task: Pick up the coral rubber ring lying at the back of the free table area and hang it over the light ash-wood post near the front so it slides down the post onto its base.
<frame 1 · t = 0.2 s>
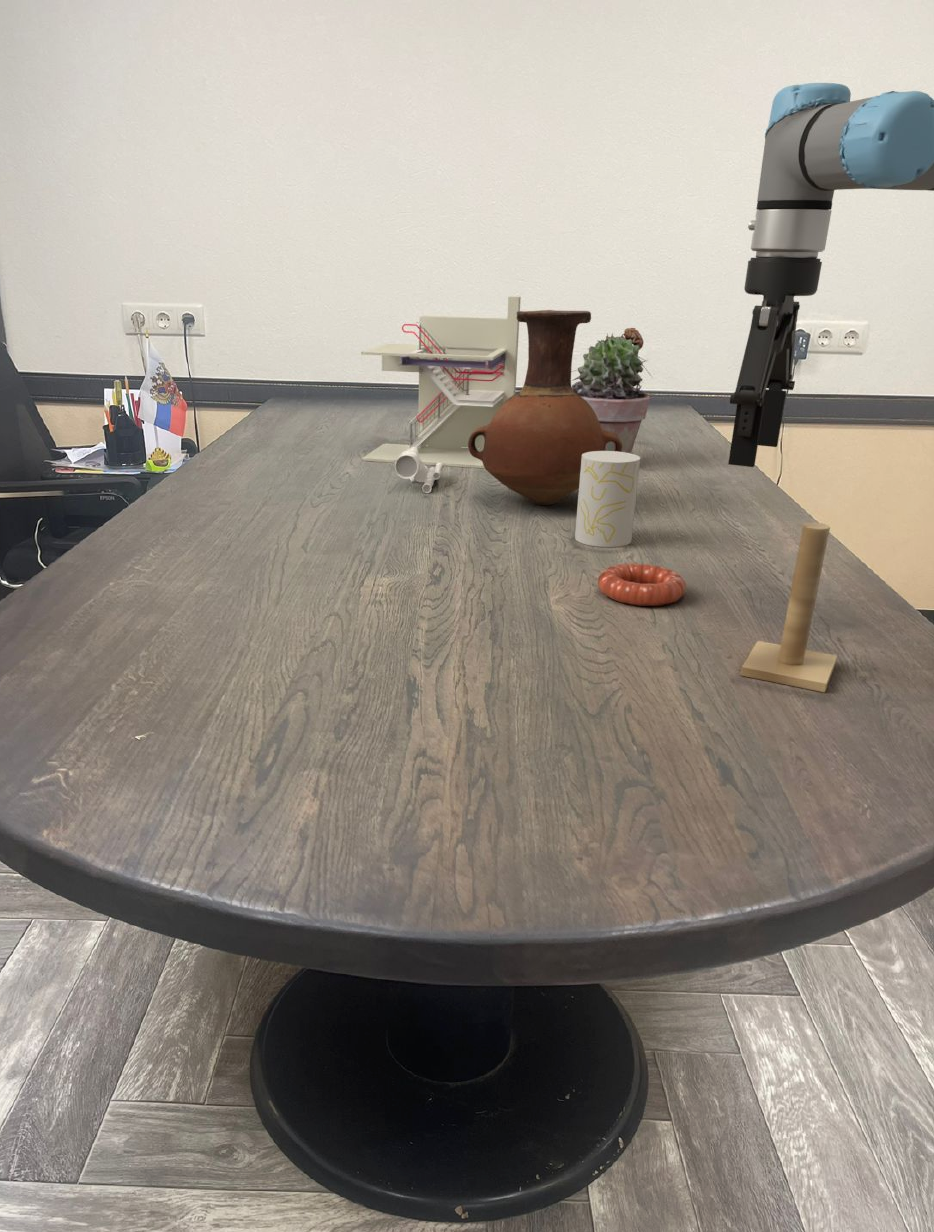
hand: (753, 455, 111), 17 cm above the table, tool pointing down, fingers open, 13 cm apart
white patterned cylinder: (602, 540, 139), on the table
white pipe fitting: (419, 485, 170), on the table
potted plant: (600, 465, 187), on the table
vase: (540, 504, 158), on the table
post: (788, 669, 96), on the table
staircase: (437, 459, 191), on the table
ring: (641, 584, 116), point 1 cm above the table
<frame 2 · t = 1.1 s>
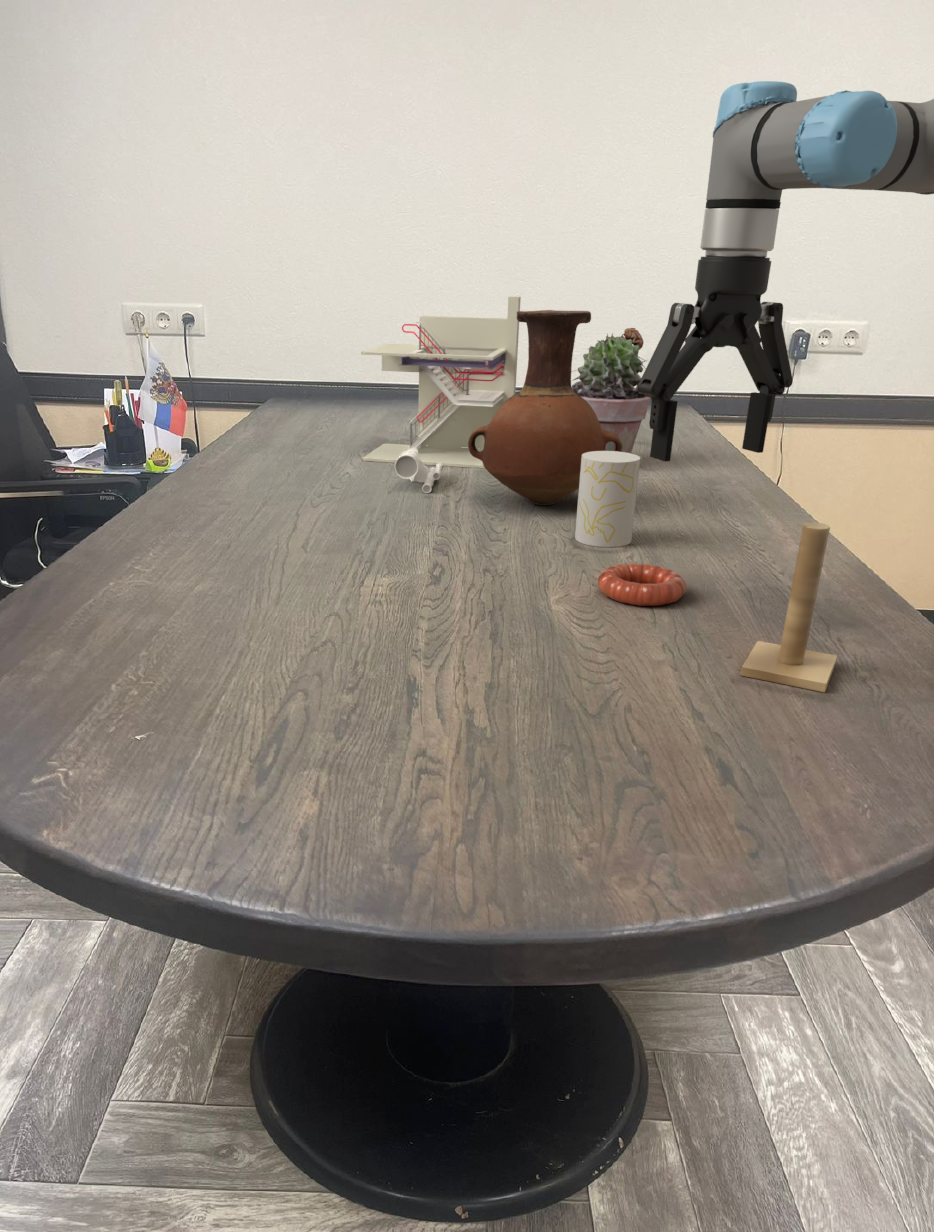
hand: (707, 455, 110), 17 cm above the table, tool pointing down, fingers open, 13 cm apart
nothing on the table moved.
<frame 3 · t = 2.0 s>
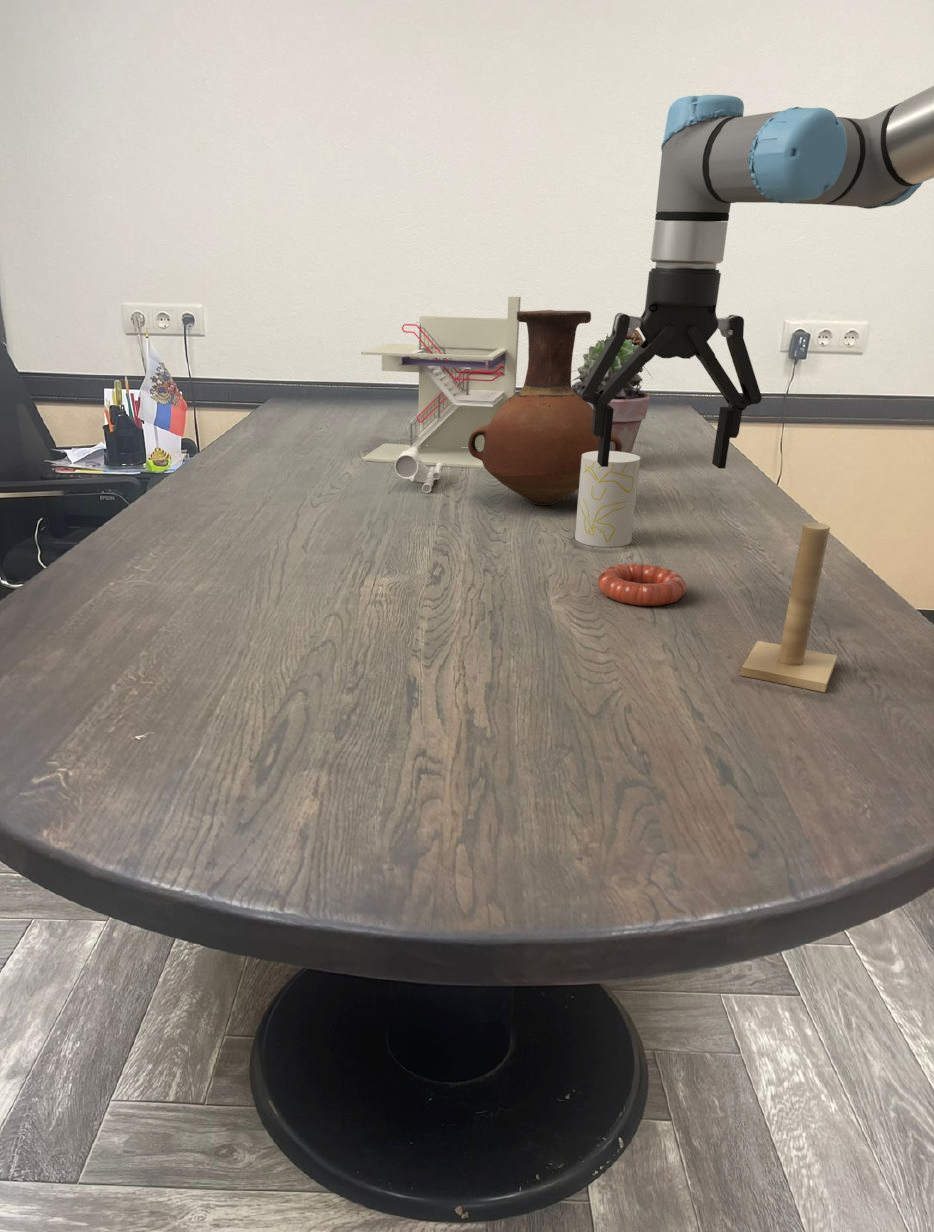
hand: (660, 465, 111), 16 cm above the table, tool pointing down, fingers open, 13 cm apart
nothing on the table moved.
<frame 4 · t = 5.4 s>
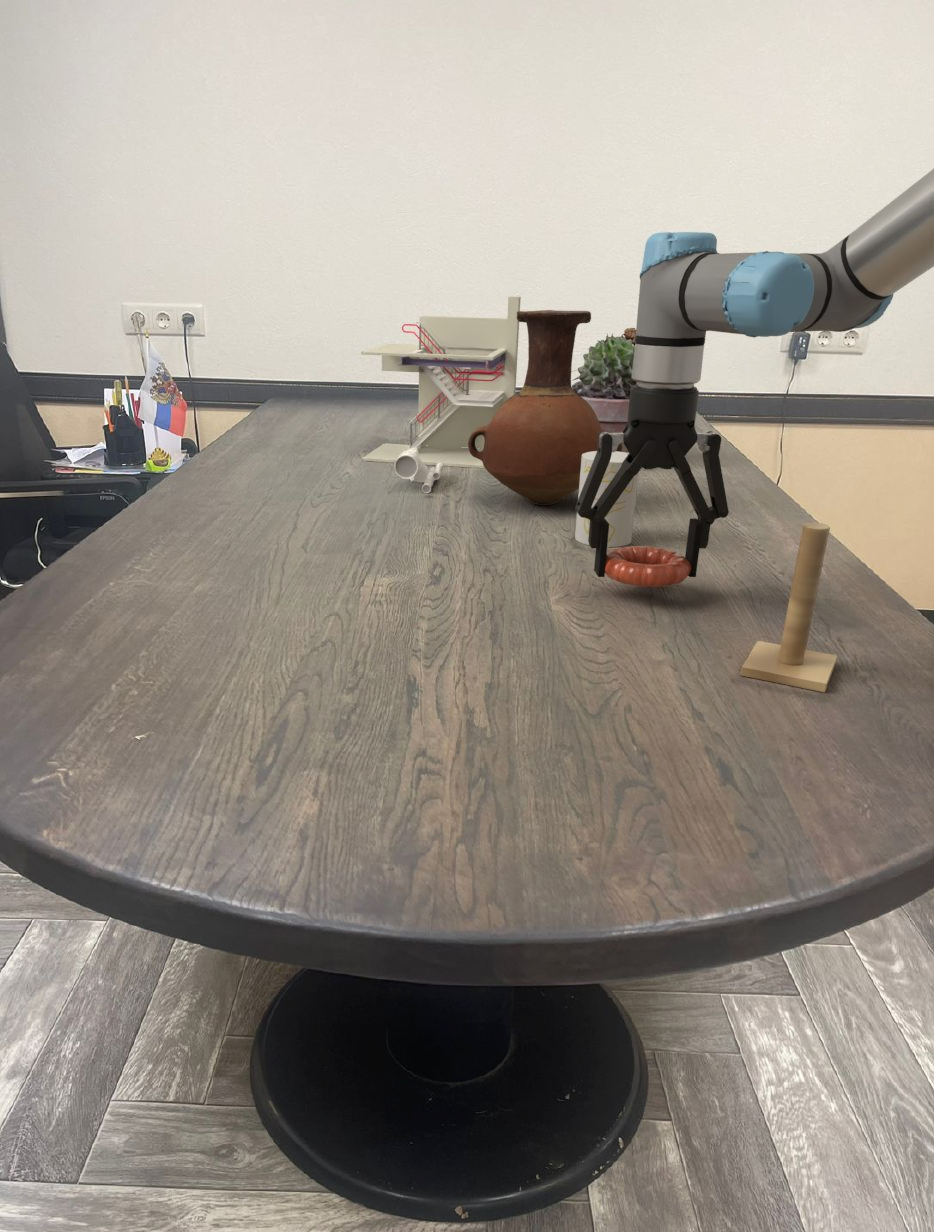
hand: (644, 573, 116), 3 cm above the table, tool pointing down, fingers closed on ring, 10 cm apart
ring: (645, 566, 115), point 4 cm above the table, touching gripper
everything else where it was.
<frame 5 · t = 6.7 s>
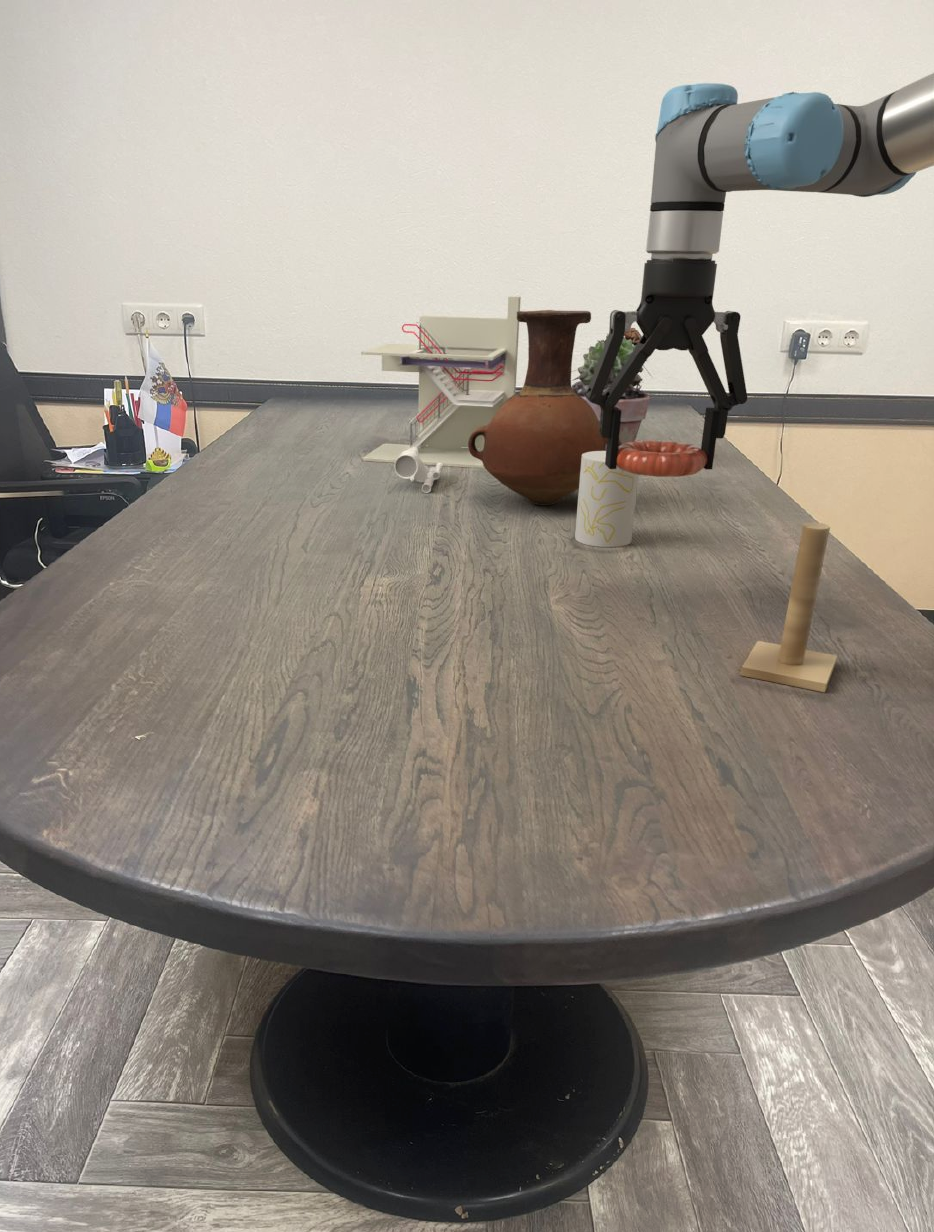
hand: (658, 466, 110), 16 cm above the table, tool pointing down, fingers closed on ring, 10 cm apart
ring: (659, 458, 109), point 17 cm above the table, touching gripper
everything else where it was.
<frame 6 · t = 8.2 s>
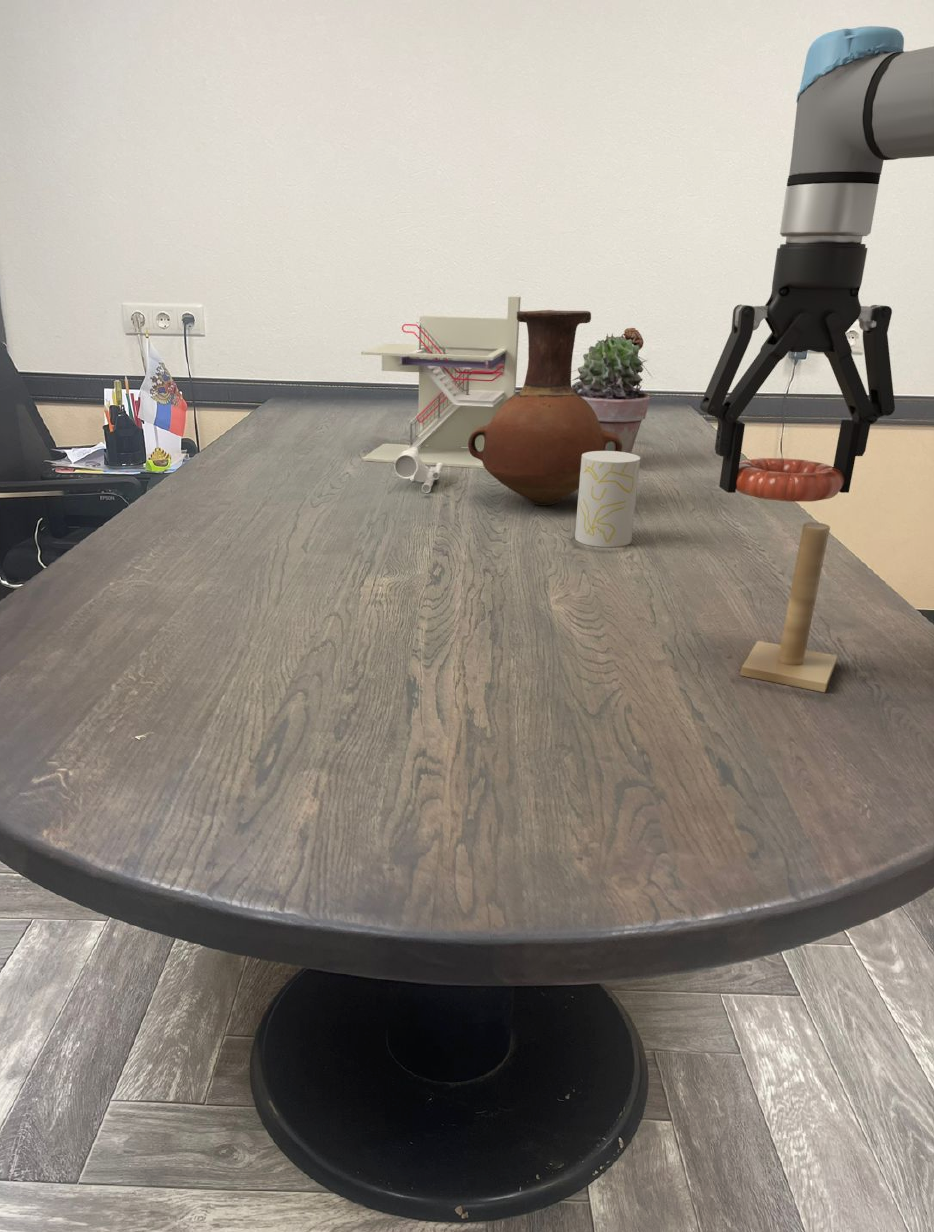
hand: (783, 489, 93), 17 cm above the table, tool pointing down, fingers closed on ring, 10 cm apart
ring: (785, 479, 93), point 18 cm above the table, touching gripper
everything else where it was.
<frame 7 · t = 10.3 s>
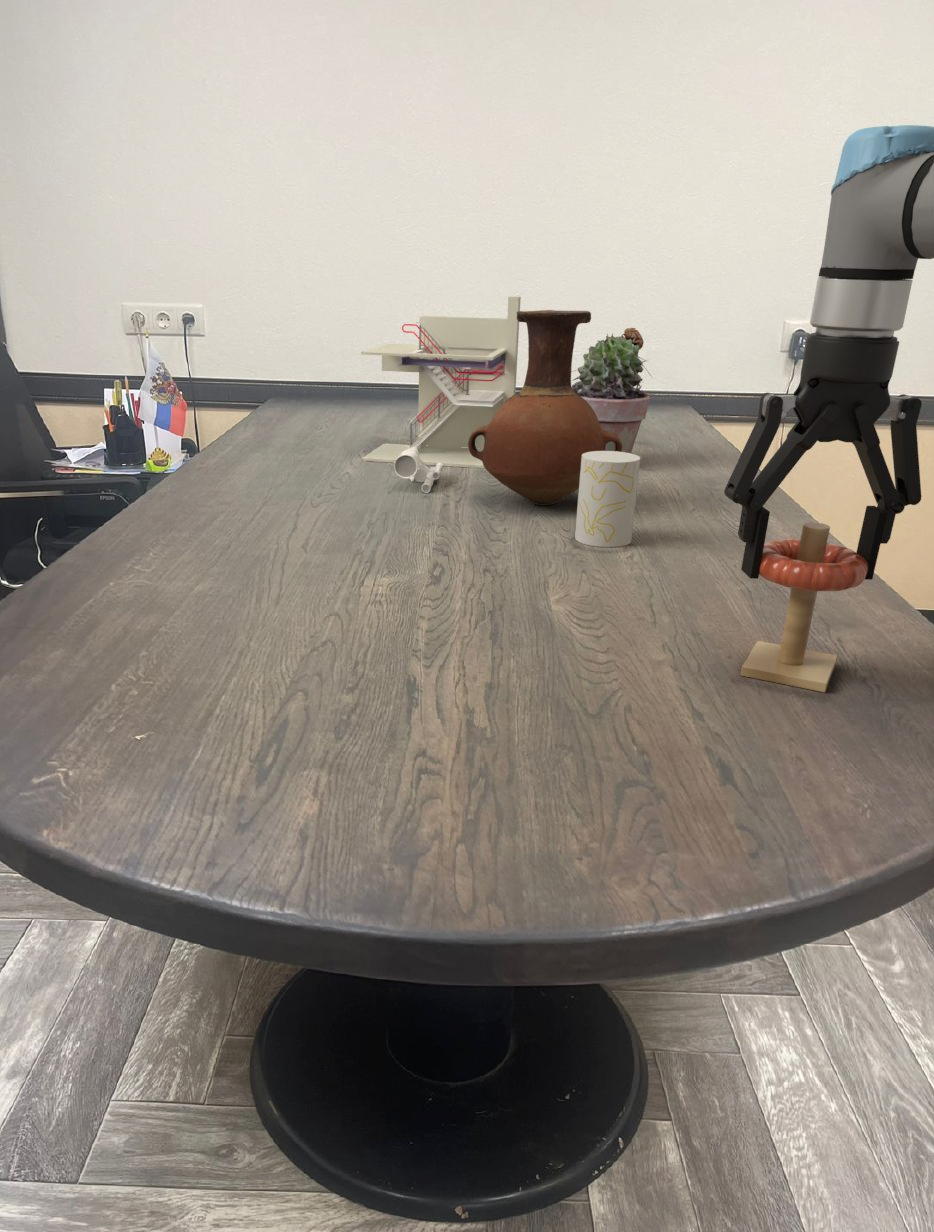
hand: (806, 574, 92), 10 cm above the table, tool pointing down, fingers closed on ring, 10 cm apart
ring: (808, 564, 92), point 11 cm above the table, touching gripper
everything else where it was.
when the fingers open (5 cm above the table, at t = 12.5 s): ring drops 4 cm, resting on post.
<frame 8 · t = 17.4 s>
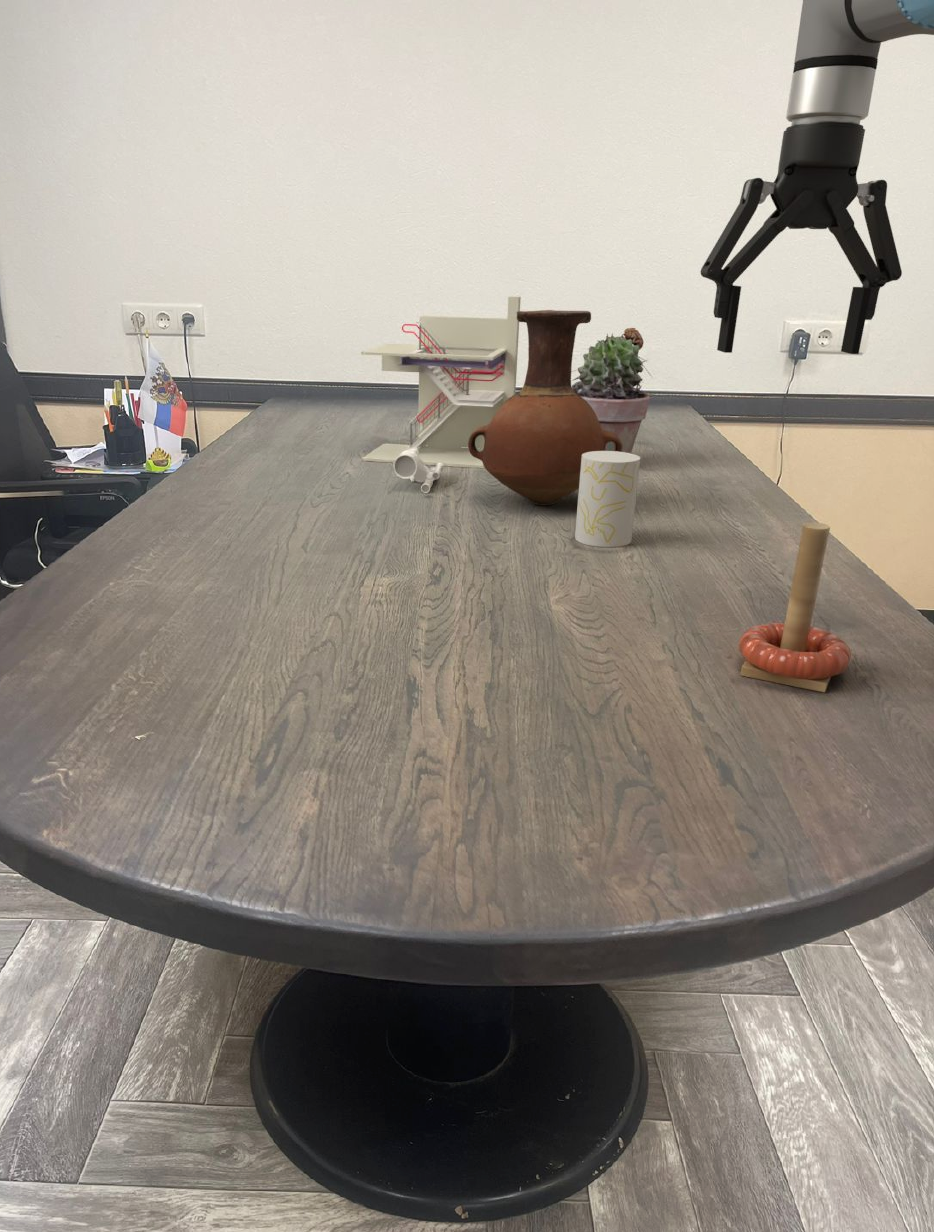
hand: (787, 352, 102), 29 cm above the table, tool pointing down, fingers open, 13 cm apart
ring: (794, 649, 95), point 2 cm above the table, touching post
everything else where it was.
at the end: ring 0.3 cm off-centre on the post, point 2.3 cm above the post's base; the gripper is holding nothing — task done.
